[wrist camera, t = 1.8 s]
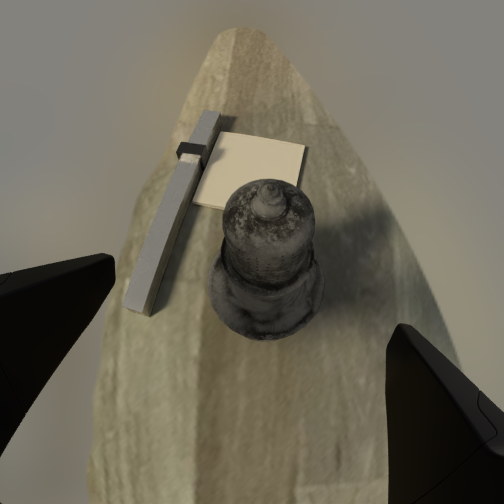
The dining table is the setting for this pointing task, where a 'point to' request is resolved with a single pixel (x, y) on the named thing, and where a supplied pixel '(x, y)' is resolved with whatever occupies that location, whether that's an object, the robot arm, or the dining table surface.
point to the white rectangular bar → (171, 215)
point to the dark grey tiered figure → (266, 262)
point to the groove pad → (245, 166)
